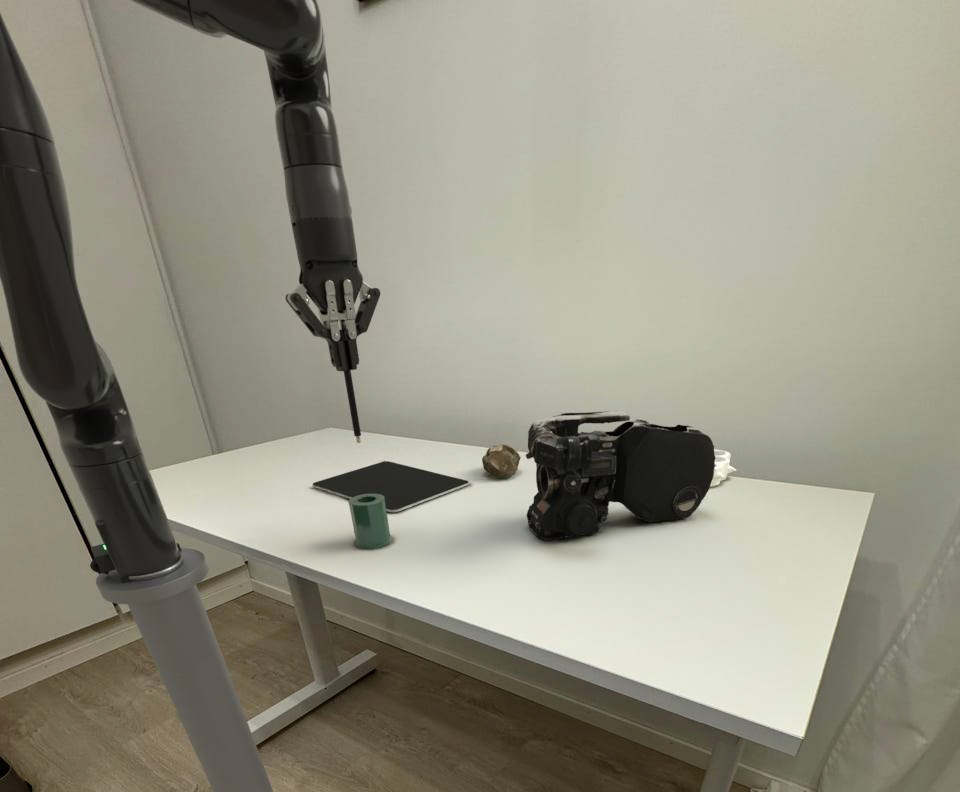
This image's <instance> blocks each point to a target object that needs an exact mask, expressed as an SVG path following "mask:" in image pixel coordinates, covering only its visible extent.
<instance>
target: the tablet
mask: <svg viewBox="0 0 960 792" xmlns="http://www.w3.org/2000/svg"><path fill="white" fill-rule="evenodd" d="M466 486H469V480H466V479H463V478H458V477H455V476H450V475H445V474H442V473H438V472H433V471H430V470H425V469H422V468H418V467H414V466H409V465H405V464H401V463H397V462H393V461H388V460H386V461H380V462H377V463H374V464H370V465H367V466H364V467H360V468H357V469H355V470H350V471H347V472H344V473H341V474H338V475H335V476H331V477H328V478H324V479H321V480H318V481H315V482H314V481H313V483H312V487H313V488H316V489H319V490H322V491H324V492H328V493H331V494H334V495H337V496H339V497H343V498H346V499H349V500H350V499H351V498H353V497H355V496H358V495H363V494H381V495H383V496H384V498H385V505H386V511H387V513H398V512H400V511H403V510H406V509H408V508H411V507H413V506H417V505H419V504H422V503H424V502H427V501H430V500H432V499H435V498H437V497H440V496H443V495H446V494H448V493H451V492H454V491H457V490H459V489H461V488H464V487H466Z"/></svg>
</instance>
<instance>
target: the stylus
mask: <svg viewBox="0 0 960 792" xmlns="http://www.w3.org/2000/svg"><path fill="white" fill-rule="evenodd" d="M339 331H340V341H343V347H344V353H345V360H346V366H347V371H343V377H344V381H345V388H346V394H347V395H346V396H347V399H348V405H349V411H350V418H351V423H352V431H353V435H354V437H355V439H356V443H357V444H360V443H361V442H362V440H361V436H362V432H361V425H360V421H359V420H360V419H359V413H358V407H357V399H356V394H355V388H354V383H353V377H352V370H350V363H349V357H348V351H347V345H346V339H345V332H344V329H340V328H339Z"/></svg>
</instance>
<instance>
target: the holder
mask: <svg viewBox="0 0 960 792" xmlns="http://www.w3.org/2000/svg"><path fill="white" fill-rule="evenodd" d="M348 506H349V511H350V517H351V521H352V522H351V523H352V527H353V528H352V529H353V533H354V536H355V543H356V545H357V547H359V548H360V549H365V550H371V549H372V550H374V549H379V548H382V547H385V546H388V545H389V544H390V543H391V541H392V539H391V532H390V524H389V518H388V511H386V505H385V498H384V496H383V495H381V494H363V495H358V496H355V497H353V498H351V499H349V500H348Z"/></svg>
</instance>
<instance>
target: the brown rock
mask: <svg viewBox="0 0 960 792" xmlns="http://www.w3.org/2000/svg"><path fill="white" fill-rule="evenodd" d="M520 461H521V455H520V453H519V452H518V451H517V450H516V449H515V448H513V447H512V446H509V445H507V444H503V443H496V444H494V445H492V446H490V447H489V448H488V449H487V450H486V453H485V455H483V456H482V458H481V462H482V463H481V464H482V467H483V470H484V471H485V472H486V473H487V474H488V475H490V476H492V477H496V478H508V477H512V476H514V475H515V474H516V472H517V471H518V468H519V465H520Z"/></svg>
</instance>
